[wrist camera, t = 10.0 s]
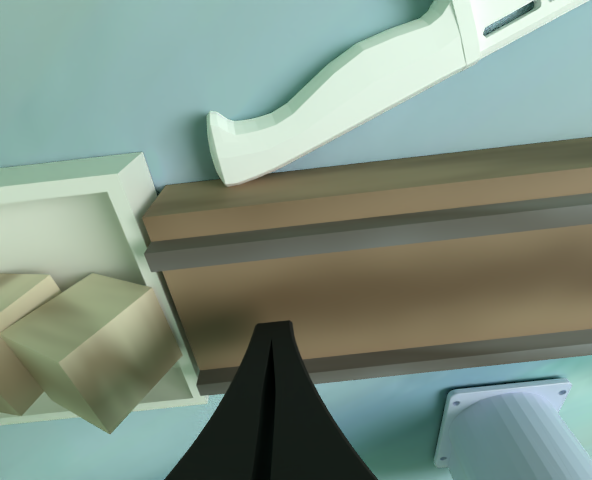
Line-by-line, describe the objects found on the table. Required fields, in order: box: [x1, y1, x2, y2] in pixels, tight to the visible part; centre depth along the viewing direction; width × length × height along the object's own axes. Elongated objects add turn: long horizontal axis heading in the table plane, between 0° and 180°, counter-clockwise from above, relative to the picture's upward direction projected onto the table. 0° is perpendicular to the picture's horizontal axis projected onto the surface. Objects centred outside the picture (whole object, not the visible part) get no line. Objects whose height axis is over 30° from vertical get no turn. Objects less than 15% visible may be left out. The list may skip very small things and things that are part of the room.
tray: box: [0, 152, 209, 425], centre depth 16 cm, size 13×13×2 cm
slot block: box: [142, 137, 592, 396], centre depth 15 cm, size 10×22×4 cm, turn 96°
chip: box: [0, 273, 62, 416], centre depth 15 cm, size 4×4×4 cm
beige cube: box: [0, 273, 183, 434], centre depth 14 cm, size 4×4×4 cm
